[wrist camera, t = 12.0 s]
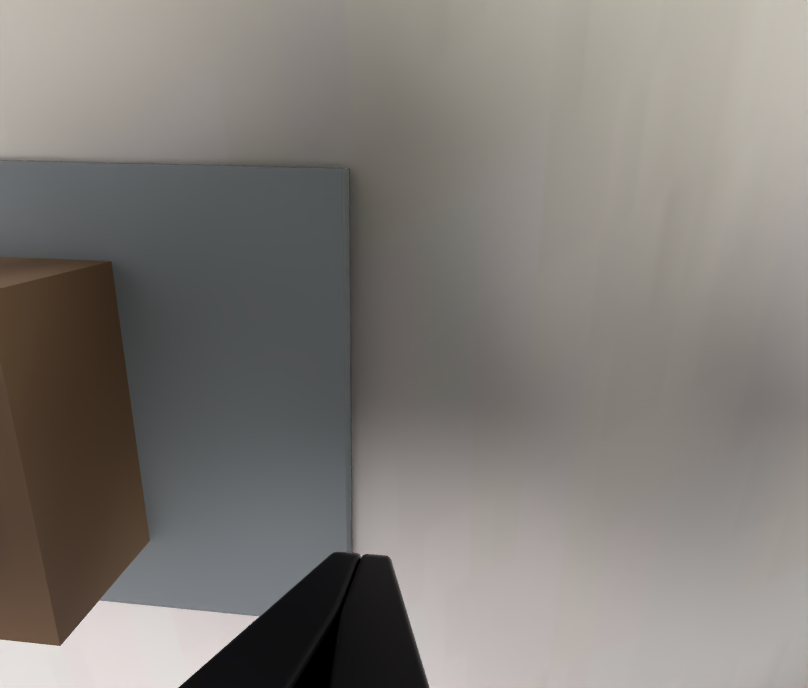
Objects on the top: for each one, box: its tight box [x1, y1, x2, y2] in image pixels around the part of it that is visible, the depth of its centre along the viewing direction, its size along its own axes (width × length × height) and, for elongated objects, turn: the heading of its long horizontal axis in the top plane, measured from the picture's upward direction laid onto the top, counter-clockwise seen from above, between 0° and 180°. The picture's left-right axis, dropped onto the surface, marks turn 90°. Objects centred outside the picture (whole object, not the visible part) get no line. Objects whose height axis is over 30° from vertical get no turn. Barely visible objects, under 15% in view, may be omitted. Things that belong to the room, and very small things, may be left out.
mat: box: [0, 160, 352, 616], centre depth 13 cm, size 14×11×1 cm
